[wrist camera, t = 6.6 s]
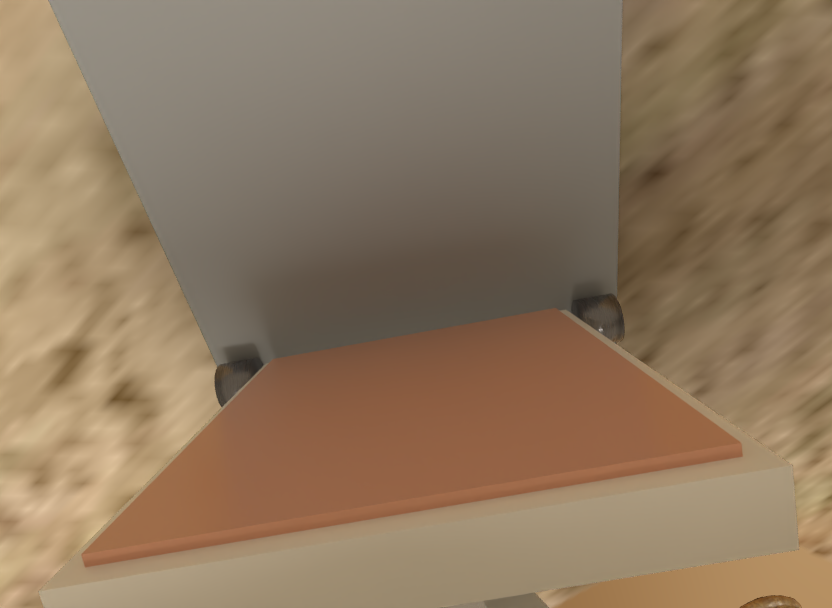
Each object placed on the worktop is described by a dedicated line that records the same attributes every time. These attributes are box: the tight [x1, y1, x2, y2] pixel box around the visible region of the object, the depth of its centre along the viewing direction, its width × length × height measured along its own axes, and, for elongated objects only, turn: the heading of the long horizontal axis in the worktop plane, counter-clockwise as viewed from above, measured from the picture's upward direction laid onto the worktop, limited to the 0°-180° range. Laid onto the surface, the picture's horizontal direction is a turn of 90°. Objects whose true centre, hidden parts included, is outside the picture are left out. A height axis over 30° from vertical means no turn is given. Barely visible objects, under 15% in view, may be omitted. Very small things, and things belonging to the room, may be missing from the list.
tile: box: [38, 308, 799, 608], centre depth 13 cm, size 10×11×1 cm
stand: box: [48, 0, 624, 407], centre depth 19 cm, size 14×21×5 cm, turn 10°
